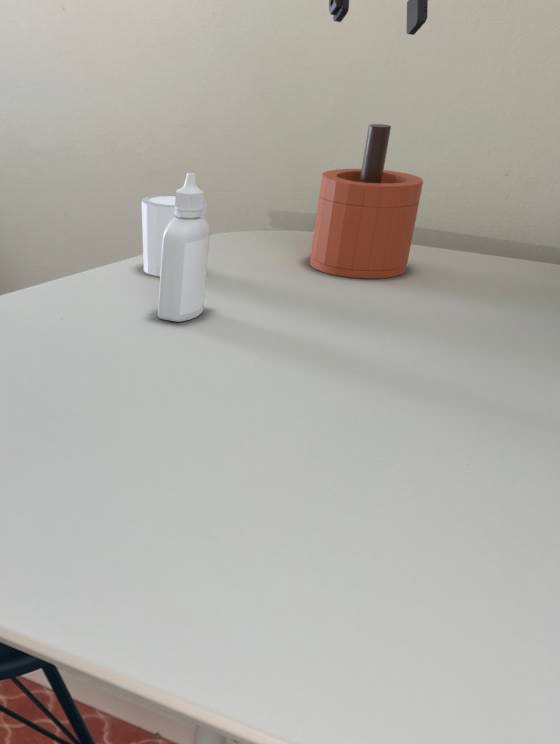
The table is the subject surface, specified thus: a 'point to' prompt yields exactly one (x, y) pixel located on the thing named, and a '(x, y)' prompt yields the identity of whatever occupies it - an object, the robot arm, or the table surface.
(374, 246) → the jar
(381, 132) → the brush
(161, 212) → the white cup
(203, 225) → the eye dropper bottle
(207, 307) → the table surface
